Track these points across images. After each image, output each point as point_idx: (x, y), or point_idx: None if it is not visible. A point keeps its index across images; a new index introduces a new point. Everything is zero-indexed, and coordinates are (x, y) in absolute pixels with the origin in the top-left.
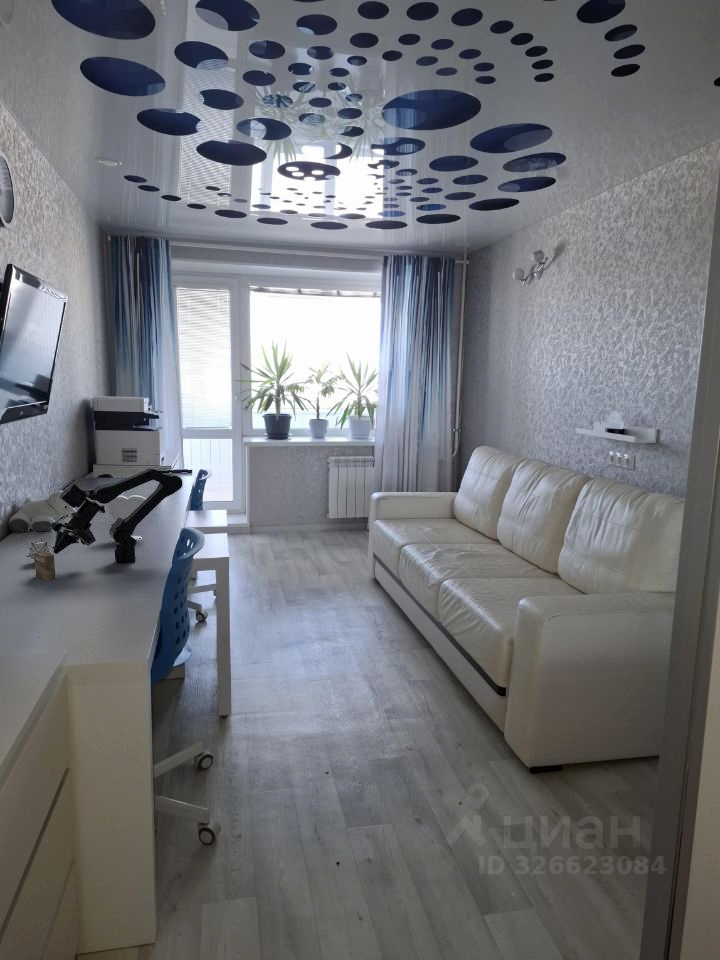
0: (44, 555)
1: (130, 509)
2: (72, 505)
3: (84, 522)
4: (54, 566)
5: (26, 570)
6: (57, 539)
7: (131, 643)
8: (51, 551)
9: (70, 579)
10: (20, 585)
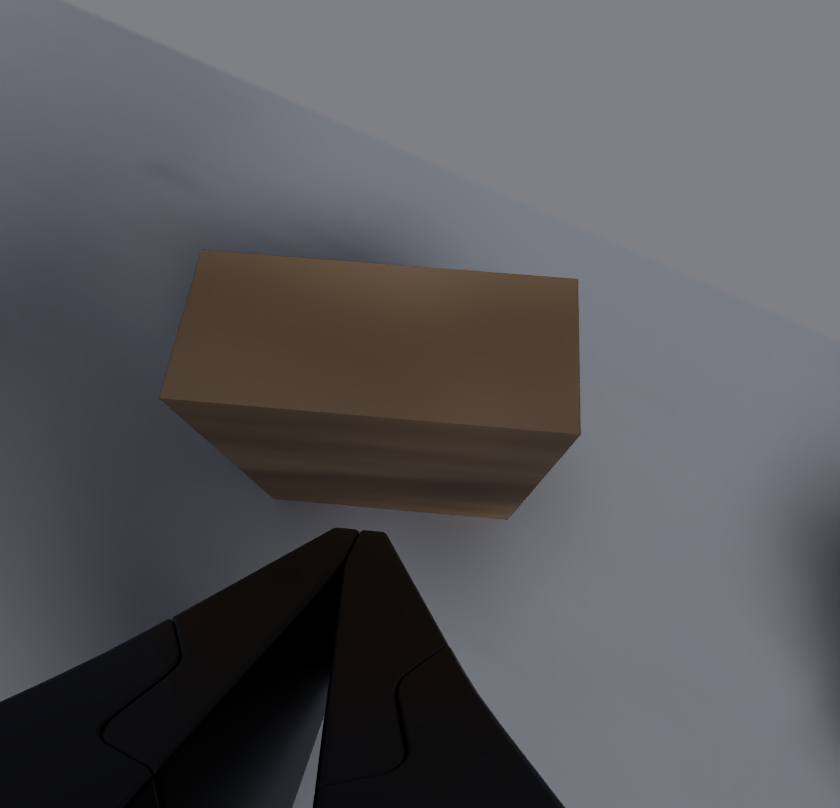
0: (279, 284)
1: None
2: None
3: None
4: (234, 459)
5: (801, 484)
6: (354, 694)
7: None
8: None
9: (77, 561)
10: (355, 209)
